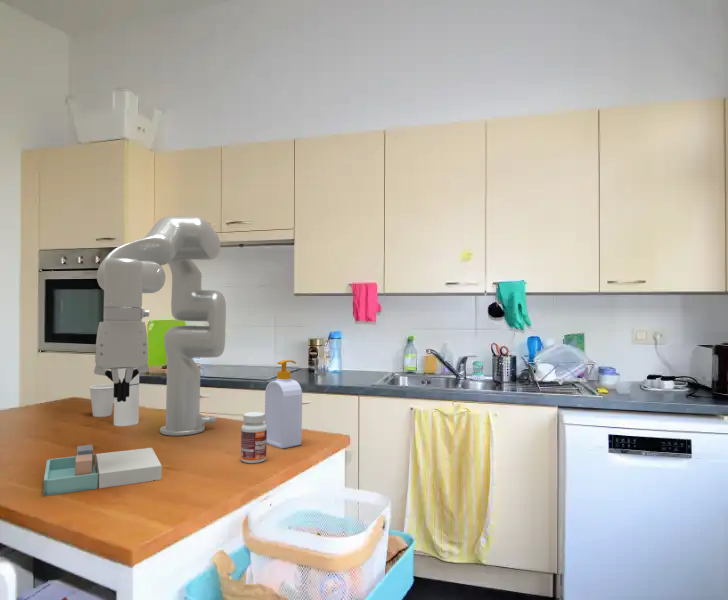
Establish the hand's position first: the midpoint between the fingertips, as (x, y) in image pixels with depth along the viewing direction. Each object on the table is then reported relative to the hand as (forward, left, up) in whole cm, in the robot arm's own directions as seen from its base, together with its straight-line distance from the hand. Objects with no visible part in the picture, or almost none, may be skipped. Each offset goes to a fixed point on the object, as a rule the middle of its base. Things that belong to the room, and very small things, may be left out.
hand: (121, 400), depth 111 cm
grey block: (+5, -8, -14) cm, 17 cm away
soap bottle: (-42, -12, -17) cm, 47 cm away
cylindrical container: (-6, -57, -17) cm, 60 cm away
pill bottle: (-30, -1, -17) cm, 35 cm away
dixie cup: (0, -74, -17) cm, 76 cm away
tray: (+9, -4, -17) cm, 20 cm away
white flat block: (-2, -4, -17) cm, 18 cm away
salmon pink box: (+5, 0, -14) cm, 15 cm away
